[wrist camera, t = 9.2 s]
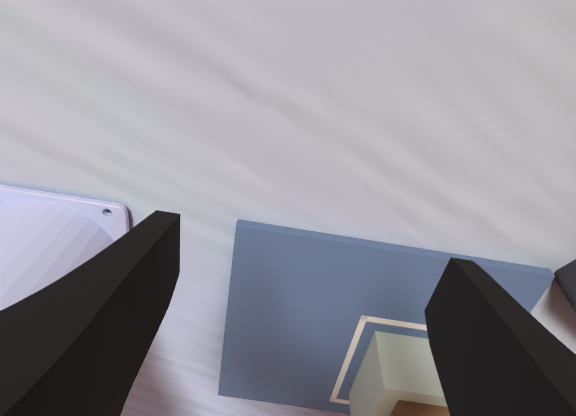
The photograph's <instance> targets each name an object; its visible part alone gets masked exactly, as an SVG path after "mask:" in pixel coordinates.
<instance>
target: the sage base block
mask: <svg viewBox="0 0 576 416" xmlns="http://www.w3.org/2000/svg"><path fill="white" fill-rule="evenodd" d="M398 400H404V401H411V402H417V403H424V404H431V405H437V406H444V407H447V404H446V400H445V397H444V394H443V390H442V387H441V384H440V380H439V377H438V374H437V370H436V367H435V363H434V360H433V356H432V353H431V349H430V345H429V339H426V338H419V337H413V336H406V335H399V334H393V333H386V332H379V331H375V332H374V334H373V337H372V339H371V342H370V344H369V346H368V349H367V351H366V354H365V356H364V359H363V361H362V363H361V366H360V368H359V371H358V373H357V375H356V378H355V380H354V383H353V385H352V387H351V390H350V392H349V401H350V414H351V416H390V414H391V412H392V410H393V409H394V407H395V405H396V403H397V401H398Z"/></svg>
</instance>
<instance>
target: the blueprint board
mask: <svg viewBox="0 0 576 416" xmlns="http://www.w3.org/2000/svg"><path fill="white" fill-rule="evenodd" d="M451 257H453V258H459V259H465V260H472V261H474V262H475V263H476V264H478V265H479V266H480V267H481V268H482V269H483V270H484V271H486V272H487V273H488V274H489V275H490V276H491V277H492V278H493V279H494V280H495V281H496V282H497V283H498V284H499V285H500V286H502V287H503V288H504V289H505V290H506V291H507V292H508V293H509V294H510V295H511V296H512V297H513V298H514V299H515V300H516V301H517V302H518V303H519V304H520V305H521V306H522V307H523V308H524V309H526V310H527V311H528V312H529V313H530V312H531V310H532V309H533V307H534V306H535V305H536V303H537V302H538V300H539V299H540V298H541V296H542V295H543V293H544V292H545V290H546V289H547V288H548V286H549V285H550V283H551V282H552V281H553V279H554V278H555V275H554V274H553V273H552V271H551V270H550V269H545V268H538V267H532V266H526V265H520V264H513V263H507V262H501V261H494V260H488V259H482V258H476V257H469V256H463V255H457V254H451V253H444V252H438V251H432V250H426V249H419V248H413V247H407V246H400V245H394V244H388V243H382V242H375V241H369V240H363V239H357V238H350V237H344V236H338V235H332V234H325V233H319V232H313V231H306V230H300V229H294V228H288V227H281V226H275V225H269V224H263V223H256V222H250V221H244V220H238V221H237V225H236V232H235V241H234V251H233V260H232V270H231V279H230V288H229V298H228V307H227V316H226V326H225V335H224V345H223V354H222V363H221V373H220V382H219V392H218V395H221V396H228V397H235V398H242V399H249V400H257V401H264V402H271V403H278V404H285V405H292V406H299V407H306V408H313V409H320V410H327V411H334V412H341V413H348V414H350V401H349V392H350V390H351V387H352V385H353V383H354V380H355V378H356V375H357V373H358V371H359V368H360V366H361V363H362V361H363V359H364V356H365V354H366V351H367V349H368V346H369V344H370V342H371V339H372V337H373V334H374V332H375V331H379V332H386V333H393V334H399V335H406V336H413V337H419V338H426V339H428V333H427V327H426V319H425V312H424V310H425V308H426V306H427V304H428V302H429V300H430V298H431V296H432V294H433V292H434V290H435V288H436V286H437V284H438V282H439V280H440V278H441V276H442V274H443V272H444V270H445V268H446V266H447V264H448V262H449V260H450V258H451Z"/></svg>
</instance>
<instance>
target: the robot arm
mask: <svg viewBox="0 0 576 416" xmlns="http://www.w3.org/2000/svg"><path fill="white" fill-rule="evenodd" d="M106 209H109V210H110V211H111V212H112V213H110V212H108V211H107V210H106ZM179 271H180V214H176V213H170V212H164V211H158V210H157V211H155V212H154V213H152V214H151V215H149V216H148V217H147V218H145V219H144V220H143V221H141V222H140V223H139V224H137V225H136V226H135V227H134V228H132V229H131V230H130V231H129V218H128V210H127V208H126V207H125V206H124V205H122V204H119V203H114V202H108V201H101V200H95V199H89V198H83V197H76V196H70V195H64V194H57V193H51V192H45V191H39V190H32V189H26V188H20V187H14V186H7V185H1V184H0V416H120V415H121V412H122V409H123V407H124V404H125V401H126V399H127V396H128V394H129V392H130V389H131V387H132V384H133V382H134V380H135V378H136V376H137V374H138V371H139V369H140V367H141V365H142V363H143V361H144V359H145V357H146V354H147V352H148V350H149V348H150V346H151V344H152V342H153V339H154V337H155V335H156V333H157V331H158V329H159V327H160V324H161V322H162V320H163V318H164V316H165V314H166V311H167V309H168V307H169V304H170V301H171V298H172V295H173V292H174V289H175V286H176V282H177V279H178V276H179ZM424 312H425V319H426V327H427V333H428V339H429V345H430V349H431V353H432V356H433V360H434V363H435V367H436V370H437V374H438V377H439V380H440V384H441V387H442V390H443V394H444V397H445V400H446V404H447V407H448V410H449V414H450V416H576V354H574V353H573V352H572V351H571V350H570V349H569V348H567V347H566V346H565V345H564V344H563V343H562V342H560V341H559V340H558V339H557V338H556V337H555V336H554V335H553V334H551V333H550V332H549V331H548V330H547V329H546V328H545V327H544V326H543V325H542V324H541V323H539V322H538V321H537V320H536V319H535V318H534V317H533V316H532V315H531V314H530V313H529V312H528V311H527V310H526V309H524V308H523V307H522V306H521V305H520V304H519V303H518V302H517V301H516V300H515V299H514V298H513V297H512V296H511V295H510V294H509V293H508V292H507V291H506V290H505V289H504V288H503V287H502V286H500V285H499V284H498V283H497V282H496V281H495V280H494V279H493V278H492V277H491V276H490V275H489V274H488V273H487V272H486V271H484V270H483V269H482V268H481V267H480V266H479V265H478V264H476V263H475V262H474V261H472V260H465V259H459V258H453V257H451V258H450V260H449V262H448V264H447V266H446V268H445V270H444V272H443V274H442V276H441V278H440V280H439V282H438V284H437V286H436V288H435V290H434V292H433V294H432V296H431V298H430V300H429V302H428V304H427V306H426V308H425V310H424Z"/></svg>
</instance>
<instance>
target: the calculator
mask: <svg viewBox="0 0 576 416" xmlns="http://www.w3.org/2000/svg"><path fill="white" fill-rule="evenodd" d="M554 275H555V280H556V282H557V283H558V285H559V286H560V288H561V290H562V291H563V293H564V294H565V296H566V298H567V299H568V301H569V302H570V304H571V305H572V307H573V308H574V310H575V311H576V260H574V261H572V262H570V263H569V264H567V265H565V266H563V267H562V268H560V269H558V270H557V271H556V272H555V273H554Z"/></svg>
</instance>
